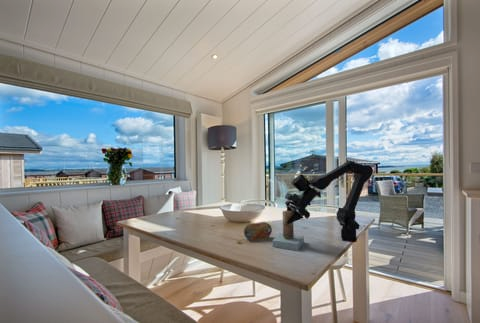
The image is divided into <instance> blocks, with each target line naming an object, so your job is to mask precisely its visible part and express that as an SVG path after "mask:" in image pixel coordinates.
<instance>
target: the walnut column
mask: <svg viewBox="0 0 480 323" xmlns="http://www.w3.org/2000/svg"><path fill="white" fill-rule="evenodd" d="M292 213H293V211H287V210H282V233H283V237H284V238H293V237H294V235H295V233H294V222H292V223H290V224H287V221H288V219H289V218H290V216H291V215H292Z"/></svg>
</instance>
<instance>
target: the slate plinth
mask: <svg viewBox="0 0 480 323" xmlns="http://www.w3.org/2000/svg"><path fill="white" fill-rule="evenodd" d="M304 239H305V238H304V235H297V234H294V237H293V238H284V237H283V232H280V233H279V234H278V235H276V237H274V238H273V239H272V248H277V249H279V248H280V249H285V250H291V251H299V250H300V248H301V247H302V246H303V244H304V243H305V242H304V241H305V240H304Z"/></svg>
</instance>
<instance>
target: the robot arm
mask: <svg viewBox="0 0 480 323" xmlns="http://www.w3.org/2000/svg"><path fill="white" fill-rule="evenodd" d="M348 172H351V173H353V183H352V185H351V188H350V191H349V193H348V196H347V198H346V200H345V204H344V206H342V207H338V210H337V212H336V220H337V222H338V223H339V225H340V226H341V227H342V228H341V231H340V234H341V236H340V238H341V240H342V241H344V242H345V241H346V242H353V243H357V239H358V237H357V230H359V229H360V226H361V225H360V224H359V223H358V222H357V221H356V207H357V205H358V202H359V200H360V196H361V194H362V192H363V189H364V186H365V184H366V182H368V181H369V180H370V179H371V177H372V175H373V174H374V169H373V167H372V166H371V165H369V164H361V163H356V162H353V161H345V162H344V163H343V164H341V165H339V166H338V167H336V168H334V169H332V170H331V171H328V172H327V173H325V174H321V175H319V176H316V177H313V178H312V179H311V180H309V179H307V178H306V177H305V175H303V174H302V173H301V174H299V175H298V176H296V177H295V178H293V179H292V181H291V185H292V186H293V187H294V188H295V189H296V190H297V191H299V192H302V193H301V194H297V193H293V194H291V193H289V192H286V194H285V196H284V199H286V201H284V204H285V206H286V211H293V213H292V215H291V216H290V218H289V219H288V221H287V224H290V223H292V222H293V223H294V222H297V221H300V220H302V219H306V220H307V219H309V218H310V217H311V212H309V211H308V210H307V209H306V208H307V207H308V206H309V207H310V206H311V205H312V204H311V203H312V201H313V200H314V199H315V198H316V197H317V198H321V197H322V195H321V191H322V190H326V189H327V187H329V186H330V185H331V184H332V182H333V181H335V180H336V179H338V178H340V177H341V176H344V175H345V174H347V173H348ZM316 189H317V190H316ZM318 190H319V191H318ZM320 190H321V191H320Z"/></svg>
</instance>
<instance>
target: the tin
mask: <svg viewBox="0 0 480 323" xmlns="http://www.w3.org/2000/svg"><path fill="white" fill-rule="evenodd" d="M272 232H273V229H272V226H271V224H269V223H268V222H265V221H262V222H261V221H259V222H253V223H252V222H251V223H248V224H247V225H245V227H244V228H243V235H244V237H245V238H246V239H247V240H248V241H256V240H265V239H268V238H269V237H270V236H271V235H272Z"/></svg>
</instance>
